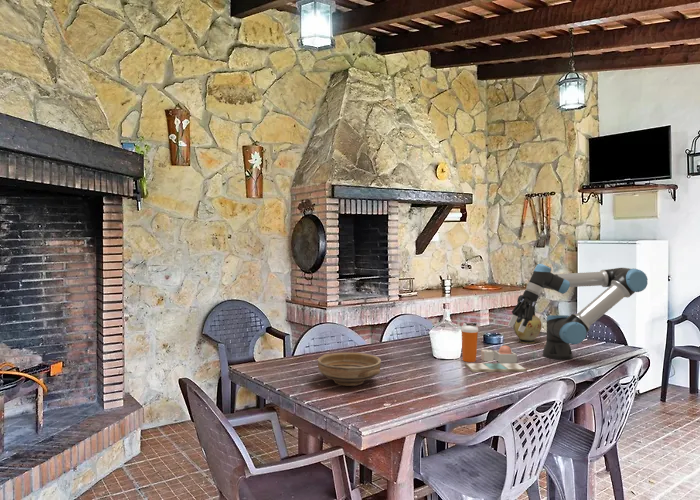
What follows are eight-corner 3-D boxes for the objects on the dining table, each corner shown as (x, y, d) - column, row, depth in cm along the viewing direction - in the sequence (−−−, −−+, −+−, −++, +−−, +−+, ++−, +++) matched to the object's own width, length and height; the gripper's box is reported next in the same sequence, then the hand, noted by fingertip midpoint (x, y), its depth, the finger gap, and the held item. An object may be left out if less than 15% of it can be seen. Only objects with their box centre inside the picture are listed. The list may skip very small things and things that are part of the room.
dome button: (508, 356, 269) (508, 344, 269) (513, 358, 262) (513, 346, 262) (497, 356, 268) (497, 344, 268) (501, 358, 262) (501, 346, 262)
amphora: (521, 338, 327) (522, 292, 327) (546, 342, 315) (547, 295, 314) (507, 341, 315) (508, 294, 315) (532, 346, 303) (533, 297, 302)
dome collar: (510, 358, 270) (510, 350, 270) (516, 362, 261) (517, 354, 261) (493, 358, 270) (493, 350, 270) (499, 363, 261) (499, 354, 260)
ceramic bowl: (401, 385, 218) (401, 363, 218) (350, 398, 200) (350, 373, 200) (348, 368, 247) (348, 348, 247) (299, 377, 229) (300, 356, 229)
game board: (517, 365, 256) (517, 363, 256) (526, 371, 244) (526, 369, 244) (465, 365, 254) (465, 363, 254) (472, 372, 242) (472, 369, 242)
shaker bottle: (478, 363, 260) (478, 324, 260) (460, 362, 262) (461, 324, 261) (477, 359, 269) (478, 322, 268) (460, 358, 271) (461, 321, 270)
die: (490, 358, 270) (490, 349, 269) (493, 361, 265) (493, 351, 264) (481, 358, 269) (481, 349, 269) (484, 361, 264) (484, 351, 264)
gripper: (516, 286, 274) (500, 321, 274) (536, 292, 249) (518, 330, 249) (528, 292, 275) (512, 327, 275) (549, 298, 250) (531, 337, 250)
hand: (515, 329), depth 262 cm, fingers open, 13 cm apart
